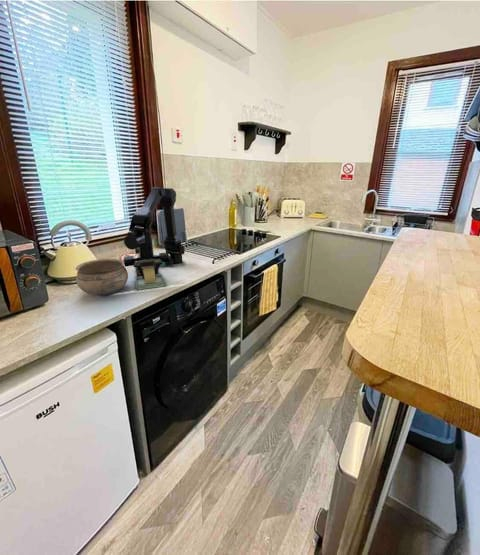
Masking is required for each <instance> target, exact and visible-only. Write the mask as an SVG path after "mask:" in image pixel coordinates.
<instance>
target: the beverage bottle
mask: <svg viewBox="0 0 480 555" xmlns="http://www.w3.org/2000/svg"><path fill="white" fill-rule="evenodd" d="M137 255H138V256H137V258H140V256H139V254H137ZM154 256H159V254H154ZM143 260H144V259H143ZM173 263H174V260H173V259H172V258H170V261H169V262H162V264H160V266H159V268H160V267H162V268H164V267H167V266H168V267H170V266H171V267H172V266H174V264H173Z"/></svg>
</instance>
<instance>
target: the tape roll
mask: <svg viewBox="0 0 480 555" xmlns="http://www.w3.org/2000/svg"><path fill="white" fill-rule="evenodd" d="M143 274H144V279H143V281H144V285H145V284H153V283H157V280H156V278H157V277H155V271H154V267H152V268H143Z"/></svg>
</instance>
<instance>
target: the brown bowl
mask: <svg viewBox="0 0 480 555" xmlns="http://www.w3.org/2000/svg"><path fill="white" fill-rule="evenodd" d="M75 270H76V271H77V273H76V278H75V279H76V284H77V287H78V288H79V289H80V290H81V291H82V292H84V293H87V294H90V295H94V296H99V297H107V296H111V295H113V294H114V293H116V292H117V291H119V290H121V289H122V288H123V287H124V286H125V285H126V284H127V282H128V280H129V272H128V270H127V267H126V266H125V265H124V260H122V259H120V258H99V259H93V260H89V261H85V262H82V263H80V264H78V265H77V266H76V267H75Z"/></svg>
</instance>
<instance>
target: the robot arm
mask: <svg viewBox="0 0 480 555" xmlns="http://www.w3.org/2000/svg"><path fill="white" fill-rule="evenodd" d="M176 201H177V191H176V190H175V189H174V188H169V187H159V186H154V187H151V189H150V193H149V195H148V196H147V198H146V200H145V201H144V204H143V205H142V207H141V208H138V209H137V210H136V211H135V212H134V213H133V214H132V217H131V220H130V223H129V227H128V232H127V233H126V234H127V235H126V236H125V237H124V239H123V243H124V246H125V247H126V248H127V249H128V250H133V251H134V252H135V255H139V256H140V258H138V257H134V255H127V256H124V257H123V261H124V267H132V266H133V268H135V267H136V268H137V269H138V270H139V272H140V273H141V275H142V277H143V279H142V280H144V274H143V271H142V267H141V264H140V262H145V261H154V271H155V278H157V277H156V274H157V271H159V268H160V267H159V266H160V264H162V262H169V261H170V258H172V259H173V260H174V263H173V265H180V264H183V262H184V260H183V255H185V253H186V252H185V251H186V248H185V247H184V245H183V244H182V241H181V238H180V237H179V235H177V226H176V218H175V217H176V216H175V208H174V206H175V204H176ZM159 204H160V206H161V207H162V210H163V216H164V224H165V231H166V238H165V239H164V240H163V247H164V250H165V252H159V253H158V255H159V256H154V255H155V254H154V247H153V237H152V232H154V228H152V226H153V224H154V221H155V218H154V213H155V212H156V210H157V208H158V206H159ZM143 259H144V260H143ZM136 268H135V269H136Z"/></svg>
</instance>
